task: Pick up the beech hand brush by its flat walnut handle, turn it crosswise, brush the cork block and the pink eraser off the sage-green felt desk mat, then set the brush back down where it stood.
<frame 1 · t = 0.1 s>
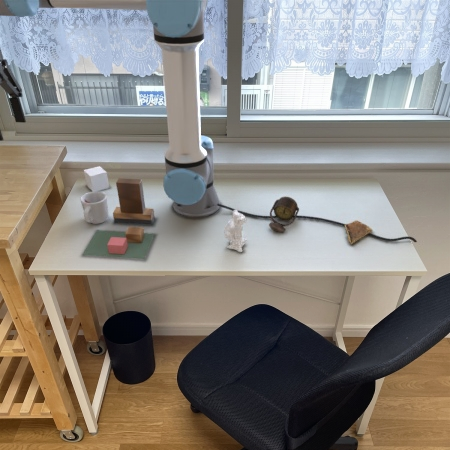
hand: (10, 130, 122), 28 cm above the table, tool pointing down, fingers open, 13 cm apart
brush: (134, 221, 139), on the table
cork block: (135, 239, 131), resting on desk mat
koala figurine: (235, 246, 129), on the table
shard: (359, 235, 134), on the table
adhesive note: (98, 187, 157), on the table
desk mat: (119, 245, 129), on the table
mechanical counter: (280, 222, 139), on the table
eraser block: (118, 249, 127), resting on desk mat
cup: (96, 222, 139), on the table
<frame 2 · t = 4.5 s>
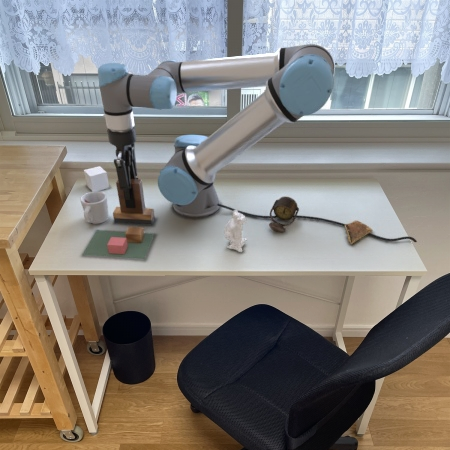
hand: (132, 204, 135), 6 cm above the table, tool pointing down, fingers closed on brush, 3 cm apart
brush: (134, 221, 139), on the table, touching gripper
everything else where it was.
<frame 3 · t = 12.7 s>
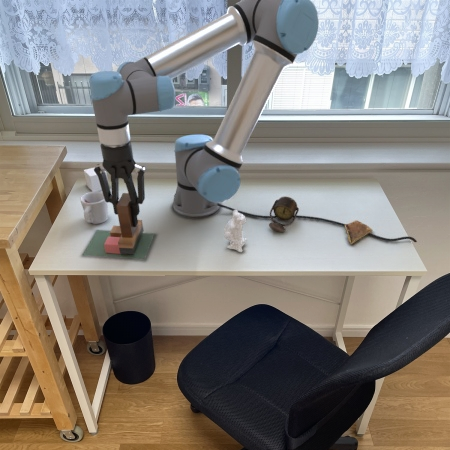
hand: (129, 224, 124), 7 cm above the table, tool pointing down, fingers closed on brush, 3 cm apart
brush: (132, 241, 128), point 1 cm above the table, touching gripper
cork block: (120, 237, 131), resting on desk mat
eraser block: (115, 249, 127), point 1 cm above the table
everything else where it was.
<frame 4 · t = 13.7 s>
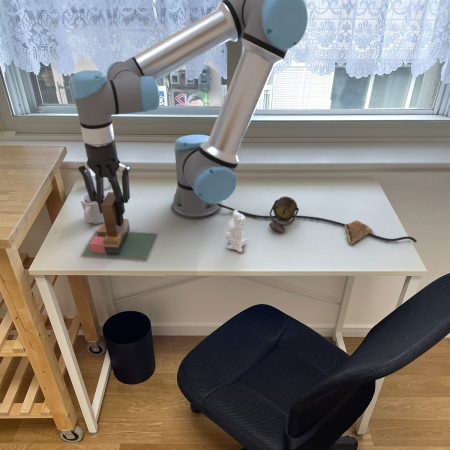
hand: (114, 223, 124), 8 cm above the table, tool pointing down, fingers closed on brush, 3 cm apart
brush: (118, 240, 128), point 1 cm above the table, touching gripper
cork block: (107, 237, 132), resting on desk mat
eraser block: (101, 249, 127), resting on desk mat
everything else where it was.
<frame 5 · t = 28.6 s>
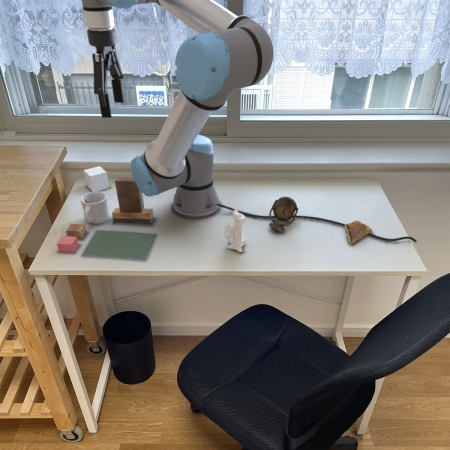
hand: (113, 109, 133), 29 cm above the table, tool pointing down, fingers open, 13 cm apart
brush: (134, 221, 139), on the table, tilted 7°, touching arm
cork block: (77, 235, 133), on the table
eraser block: (69, 248, 128), on the table
everything else where it was.
at the end: cork block inside the target area (3.9 cm from its centre), on the table; eraser block inside the target area (4.7 cm from its centre), on the table; the gripper is holding nothing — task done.
